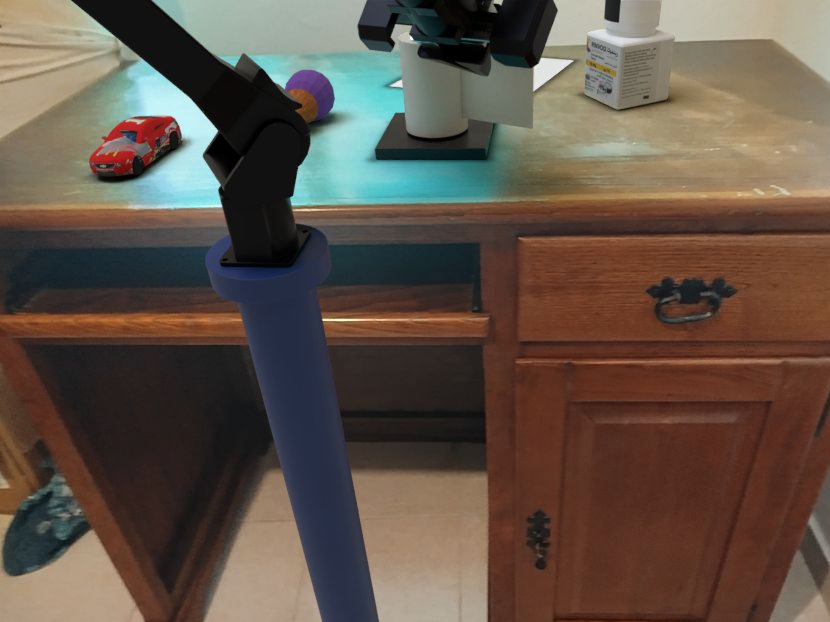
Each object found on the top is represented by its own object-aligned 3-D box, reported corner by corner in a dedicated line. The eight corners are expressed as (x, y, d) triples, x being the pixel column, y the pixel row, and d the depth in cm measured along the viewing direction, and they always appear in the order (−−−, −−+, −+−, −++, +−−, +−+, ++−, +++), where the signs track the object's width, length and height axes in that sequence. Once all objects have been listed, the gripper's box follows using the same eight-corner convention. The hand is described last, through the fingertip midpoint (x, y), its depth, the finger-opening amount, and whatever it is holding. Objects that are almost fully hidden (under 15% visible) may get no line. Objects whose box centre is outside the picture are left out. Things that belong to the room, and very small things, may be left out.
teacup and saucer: (514, 63, 108) (514, 34, 105) (492, 78, 102) (491, 47, 100) (461, 59, 111) (460, 30, 109) (436, 73, 105) (435, 43, 103)
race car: (129, 184, 76) (117, 147, 74) (84, 182, 77) (70, 145, 75) (192, 139, 87) (183, 105, 84) (151, 137, 88) (141, 104, 85)
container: (582, 94, 94) (588, -16, 87) (632, 85, 97) (642, -24, 89) (616, 111, 89) (626, -6, 81) (668, 100, 91) (682, -15, 84)
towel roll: (532, 143, 77) (534, 44, 71) (398, 143, 79) (389, 47, 73) (535, 116, 84) (536, 24, 78) (411, 117, 86) (404, 27, 80)
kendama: (221, 136, 75) (286, 67, 90) (245, 187, 79) (304, 113, 94) (272, 126, 74) (330, 58, 88) (294, 179, 77) (347, 105, 92)
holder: (485, 159, 78) (485, 148, 77) (375, 159, 79) (374, 148, 78) (494, 121, 87) (494, 111, 87) (396, 122, 89) (395, 112, 88)
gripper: (551, -122, 56) (598, 5, 70) (359, -120, 64) (436, -6, 78) (502, 9, 55) (560, 111, 69) (315, -5, 64) (401, 89, 78)
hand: (486, 71), depth 74 cm, fingers closed
